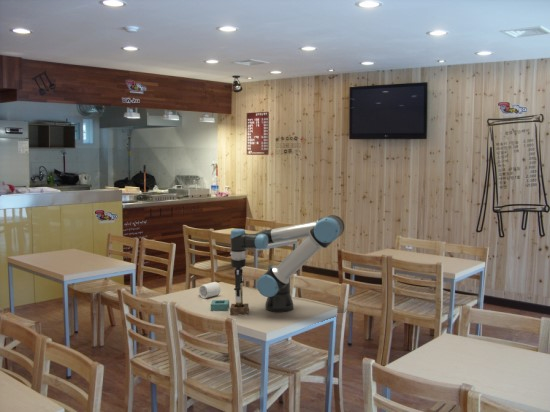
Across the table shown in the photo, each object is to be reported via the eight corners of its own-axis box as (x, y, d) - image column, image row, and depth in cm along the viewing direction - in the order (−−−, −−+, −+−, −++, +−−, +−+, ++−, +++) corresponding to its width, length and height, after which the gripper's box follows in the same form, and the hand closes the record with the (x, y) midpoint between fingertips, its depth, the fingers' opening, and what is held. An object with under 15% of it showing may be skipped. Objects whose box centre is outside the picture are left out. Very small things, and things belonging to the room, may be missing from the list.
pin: (243, 311, 304) (242, 285, 303) (242, 313, 300) (242, 287, 299) (236, 311, 304) (235, 285, 303) (235, 313, 300) (235, 287, 299)
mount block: (248, 309, 307) (248, 303, 306) (247, 314, 298) (247, 308, 297) (231, 310, 307) (231, 303, 306) (230, 314, 298) (230, 308, 297)
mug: (220, 296, 337) (220, 282, 336) (207, 299, 329) (207, 285, 329) (207, 292, 345) (207, 279, 344) (194, 296, 338) (194, 282, 337)
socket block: (229, 306, 315) (229, 299, 314) (227, 310, 306) (227, 304, 305) (212, 306, 315) (212, 300, 314) (210, 310, 306) (210, 304, 305)
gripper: (233, 254, 312) (233, 293, 314) (229, 263, 287) (230, 305, 289) (246, 254, 312) (247, 292, 314) (244, 263, 287) (245, 305, 289)
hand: (239, 298), depth 301 cm, fingers open, 13 cm apart
